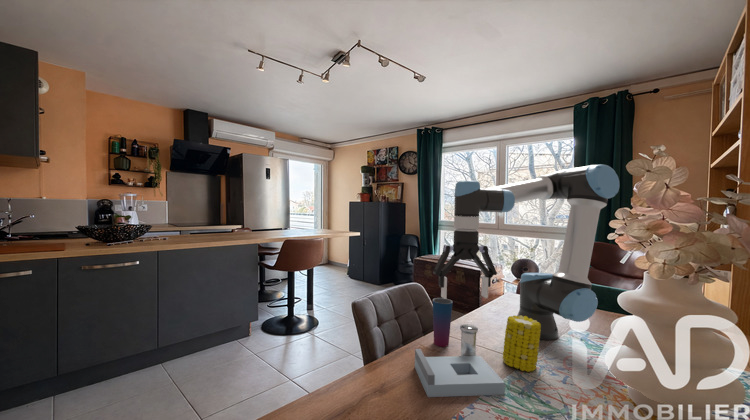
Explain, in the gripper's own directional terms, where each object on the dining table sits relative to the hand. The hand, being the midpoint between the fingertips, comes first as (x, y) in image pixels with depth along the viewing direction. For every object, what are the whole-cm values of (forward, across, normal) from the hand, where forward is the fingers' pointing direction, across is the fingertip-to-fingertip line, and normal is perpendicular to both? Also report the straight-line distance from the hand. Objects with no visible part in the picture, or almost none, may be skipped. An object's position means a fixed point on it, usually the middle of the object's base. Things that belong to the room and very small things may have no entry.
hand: (464, 297), depth 94 cm
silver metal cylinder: (+19, -1, +1) cm, 19 cm away
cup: (+19, +3, -10) cm, 22 cm away
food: (+19, -16, +6) cm, 26 cm away
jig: (+19, +7, +12) cm, 23 cm away
